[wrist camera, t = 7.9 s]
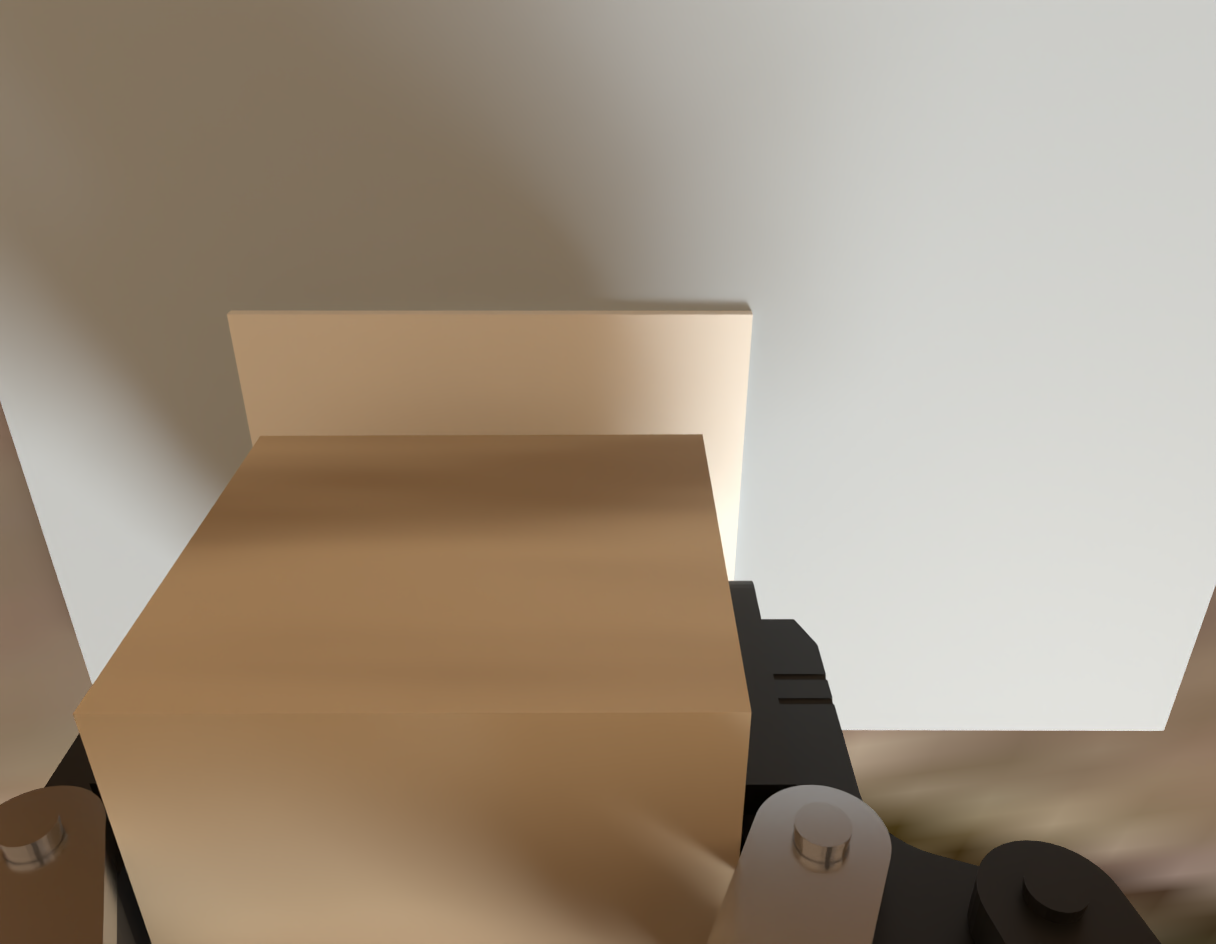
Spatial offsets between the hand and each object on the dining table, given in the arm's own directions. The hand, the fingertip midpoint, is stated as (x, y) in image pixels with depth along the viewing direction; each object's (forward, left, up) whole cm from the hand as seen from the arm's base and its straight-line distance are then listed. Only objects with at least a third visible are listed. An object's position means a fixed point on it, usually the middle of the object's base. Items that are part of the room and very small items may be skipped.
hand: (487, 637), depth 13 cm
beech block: (0, 0, -1) cm, 1 cm away
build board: (-2, +2, -4) cm, 5 cm away
